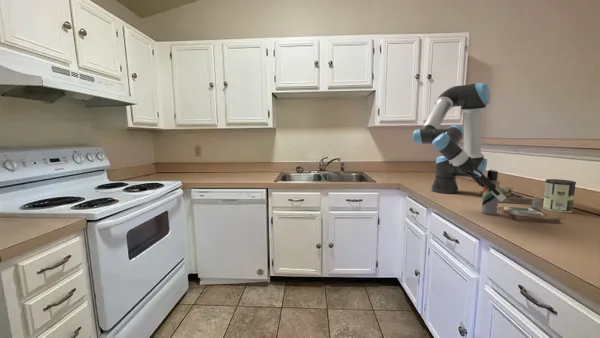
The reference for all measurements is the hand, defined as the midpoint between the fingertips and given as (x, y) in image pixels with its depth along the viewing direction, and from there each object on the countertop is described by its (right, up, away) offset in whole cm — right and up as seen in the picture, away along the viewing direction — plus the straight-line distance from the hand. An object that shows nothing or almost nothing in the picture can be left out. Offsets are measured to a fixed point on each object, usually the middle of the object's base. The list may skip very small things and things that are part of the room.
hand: (499, 197), depth 118 cm
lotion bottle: (-3, -7, +2) cm, 8 cm away
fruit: (+24, -4, +30) cm, 38 cm away
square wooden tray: (+24, -4, +28) cm, 37 cm away
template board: (+10, -8, -3) cm, 13 cm away
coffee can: (+33, -7, +7) cm, 34 cm away
